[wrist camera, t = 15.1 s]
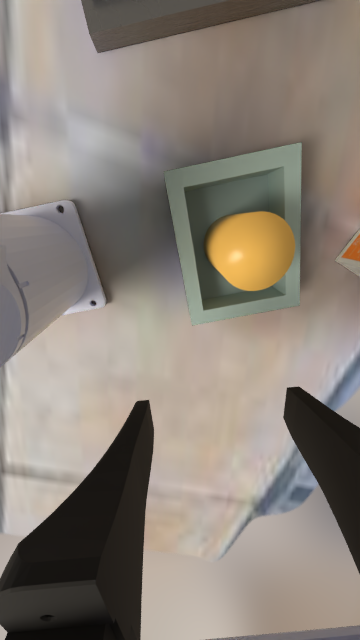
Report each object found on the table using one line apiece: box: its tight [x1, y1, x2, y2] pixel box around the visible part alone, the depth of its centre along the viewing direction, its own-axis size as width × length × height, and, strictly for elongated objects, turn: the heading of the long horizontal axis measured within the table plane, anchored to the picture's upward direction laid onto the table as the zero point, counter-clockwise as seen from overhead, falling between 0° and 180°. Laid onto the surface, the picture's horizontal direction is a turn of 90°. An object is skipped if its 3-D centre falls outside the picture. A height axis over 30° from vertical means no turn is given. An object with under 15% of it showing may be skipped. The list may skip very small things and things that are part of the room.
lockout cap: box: [204, 211, 295, 291], centre depth 15 cm, size 4×4×6 cm
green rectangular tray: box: [164, 142, 302, 326], centre depth 17 cm, size 8×10×3 cm
